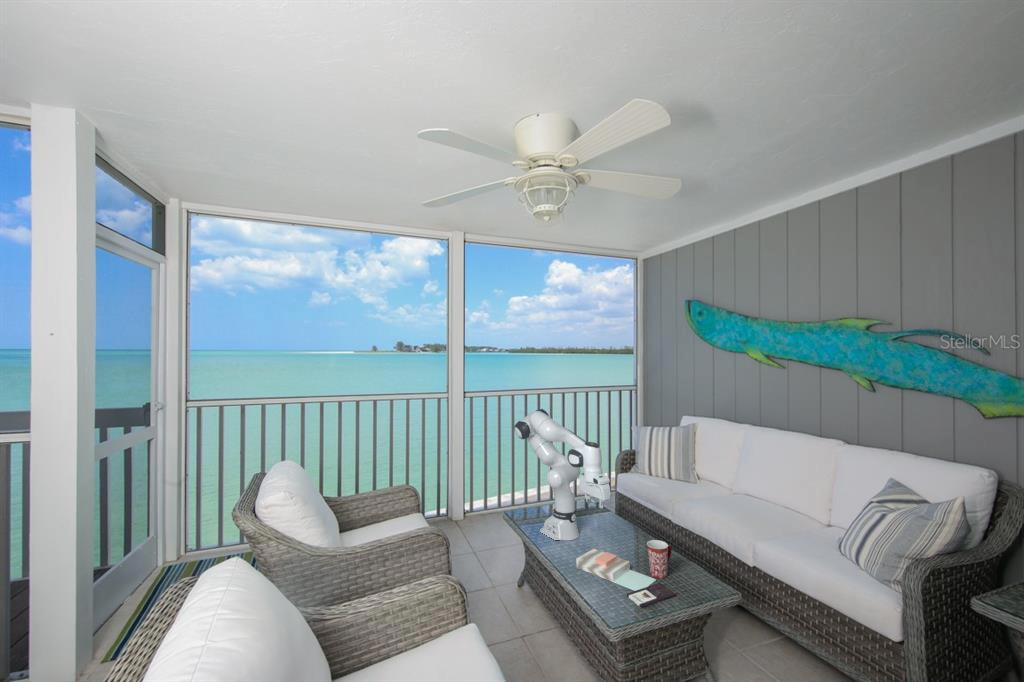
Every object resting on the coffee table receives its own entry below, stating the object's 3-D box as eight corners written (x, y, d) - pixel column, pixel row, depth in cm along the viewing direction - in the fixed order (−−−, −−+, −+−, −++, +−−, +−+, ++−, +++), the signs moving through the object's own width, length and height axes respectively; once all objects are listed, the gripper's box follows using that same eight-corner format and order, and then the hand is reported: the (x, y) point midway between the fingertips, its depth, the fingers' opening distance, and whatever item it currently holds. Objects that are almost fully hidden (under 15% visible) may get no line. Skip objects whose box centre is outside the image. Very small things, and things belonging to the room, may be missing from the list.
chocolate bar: (676, 594, 179) (641, 606, 171) (676, 596, 179) (641, 608, 171) (660, 582, 187) (626, 593, 179) (660, 584, 187) (626, 595, 179)
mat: (611, 581, 192) (611, 580, 192) (628, 569, 202) (627, 568, 202) (640, 593, 182) (640, 592, 182) (656, 580, 192) (656, 579, 192)
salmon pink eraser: (595, 562, 201) (595, 558, 201) (606, 556, 207) (606, 551, 207) (606, 567, 197) (606, 562, 197) (617, 560, 203) (617, 555, 203)
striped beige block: (576, 567, 205) (576, 558, 206) (593, 556, 215) (593, 548, 215) (613, 582, 191) (612, 573, 191) (629, 570, 201) (629, 561, 201)
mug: (658, 581, 191) (657, 550, 191) (643, 572, 199) (642, 542, 199) (679, 574, 196) (678, 543, 197) (664, 565, 204) (663, 536, 205)
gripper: (575, 472, 220) (576, 500, 219) (601, 482, 202) (602, 512, 201) (585, 470, 223) (587, 498, 222) (612, 480, 205) (613, 510, 204)
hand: (594, 505), depth 212 cm, fingers open, 8 cm apart
